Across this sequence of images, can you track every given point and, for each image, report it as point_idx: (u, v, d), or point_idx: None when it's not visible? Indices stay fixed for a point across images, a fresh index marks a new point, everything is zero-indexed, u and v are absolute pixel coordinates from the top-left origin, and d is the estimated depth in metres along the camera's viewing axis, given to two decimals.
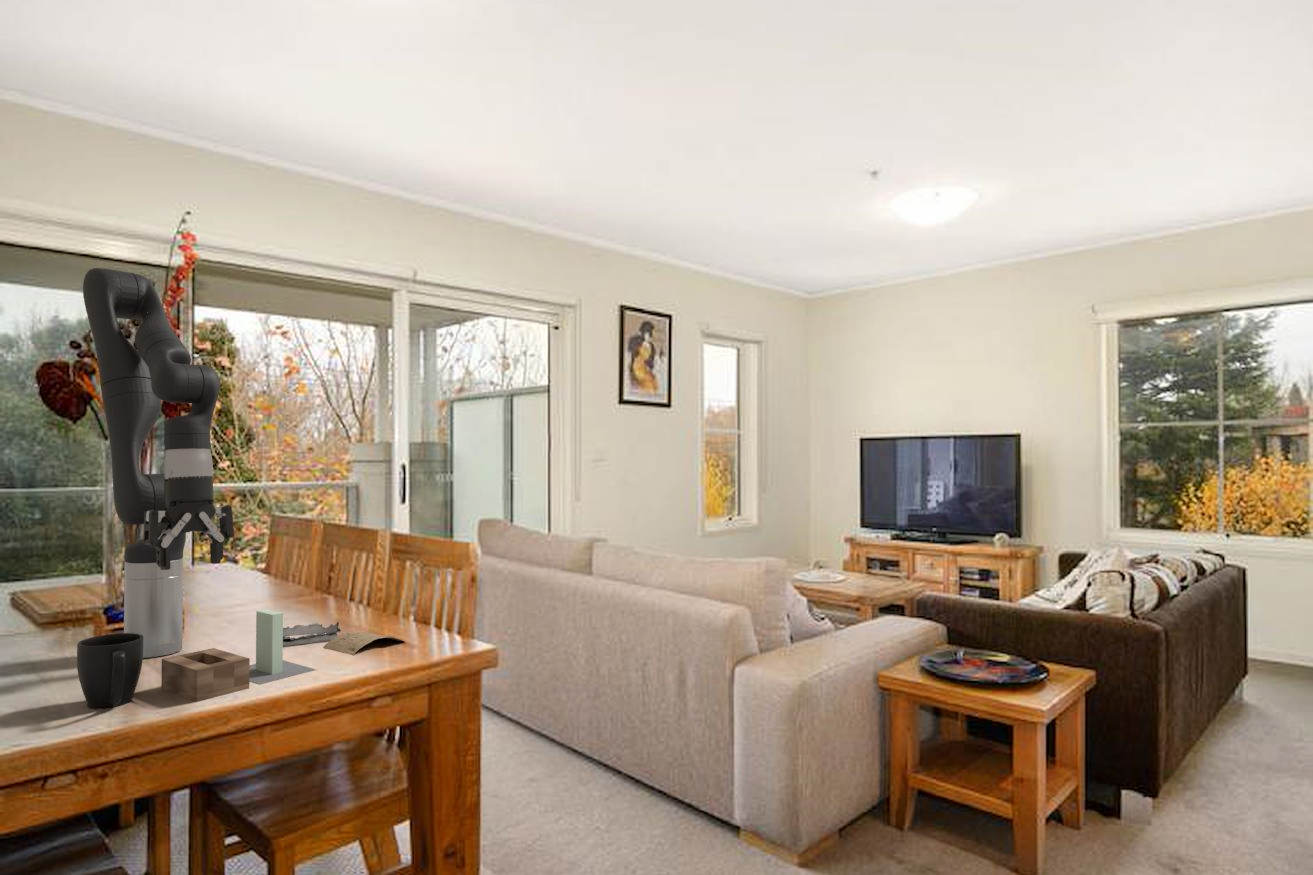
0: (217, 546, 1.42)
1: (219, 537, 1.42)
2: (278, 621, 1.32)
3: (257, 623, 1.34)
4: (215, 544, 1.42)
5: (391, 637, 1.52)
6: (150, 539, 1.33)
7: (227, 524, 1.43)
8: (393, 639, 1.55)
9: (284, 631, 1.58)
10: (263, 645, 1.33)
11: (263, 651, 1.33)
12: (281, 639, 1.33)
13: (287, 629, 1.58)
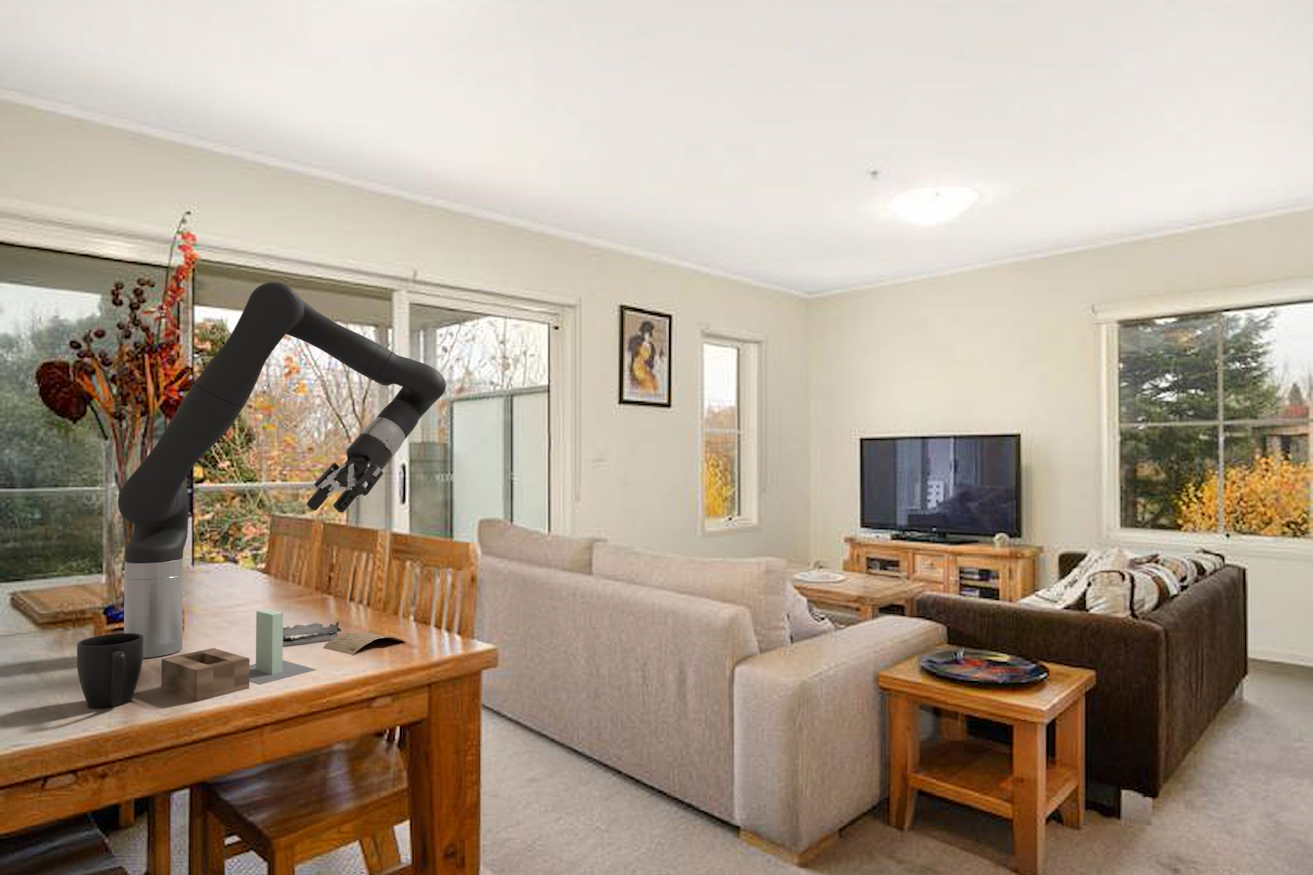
0: (325, 499, 1.49)
1: None
2: (278, 621, 1.32)
3: (257, 623, 1.34)
4: (326, 496, 1.49)
5: (391, 637, 1.52)
6: (368, 491, 1.44)
7: None
8: (393, 639, 1.55)
9: (284, 631, 1.58)
10: (263, 645, 1.33)
11: (263, 651, 1.33)
12: (281, 639, 1.33)
13: (287, 629, 1.58)
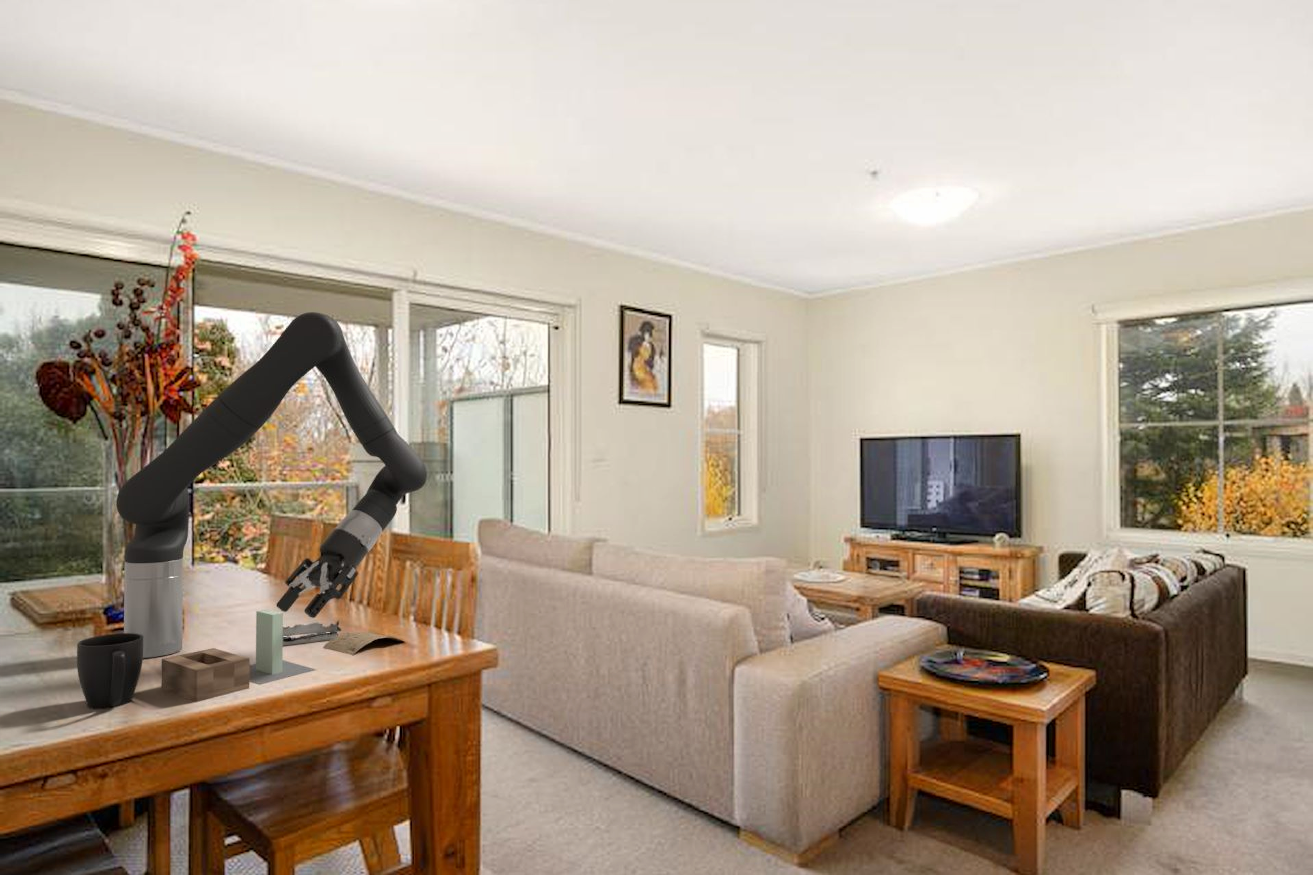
0: (296, 598, 1.42)
1: None
2: (278, 621, 1.32)
3: (257, 623, 1.34)
4: (297, 595, 1.42)
5: (391, 637, 1.52)
6: (342, 594, 1.37)
7: None
8: (393, 639, 1.55)
9: (284, 631, 1.58)
10: (263, 645, 1.33)
11: (263, 651, 1.33)
12: (281, 639, 1.33)
13: (287, 629, 1.58)
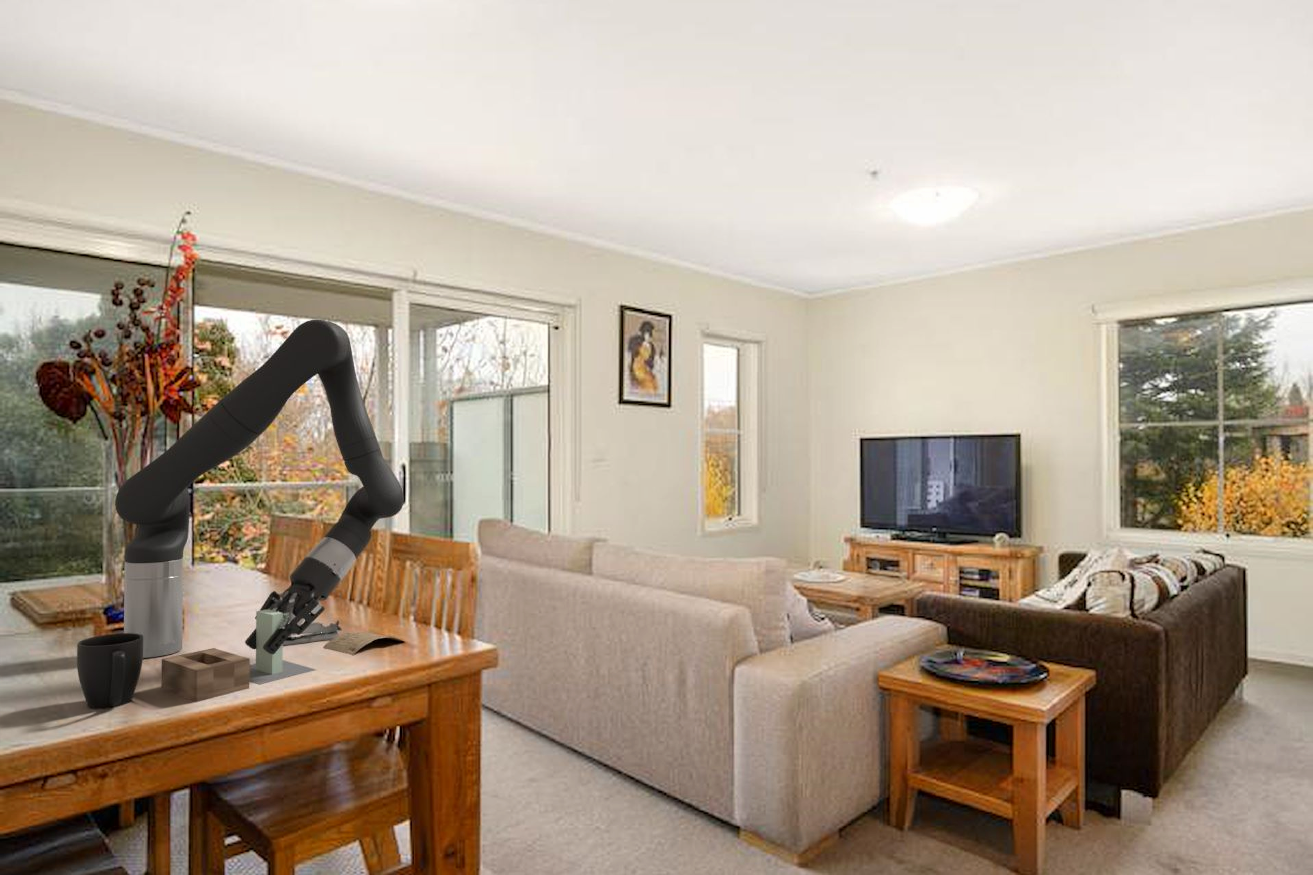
0: None
1: None
2: (278, 621, 1.32)
3: (257, 623, 1.34)
4: None
5: (391, 637, 1.52)
6: None
7: None
8: (393, 639, 1.55)
9: None
10: (263, 645, 1.33)
11: (262, 651, 1.33)
12: None
13: None
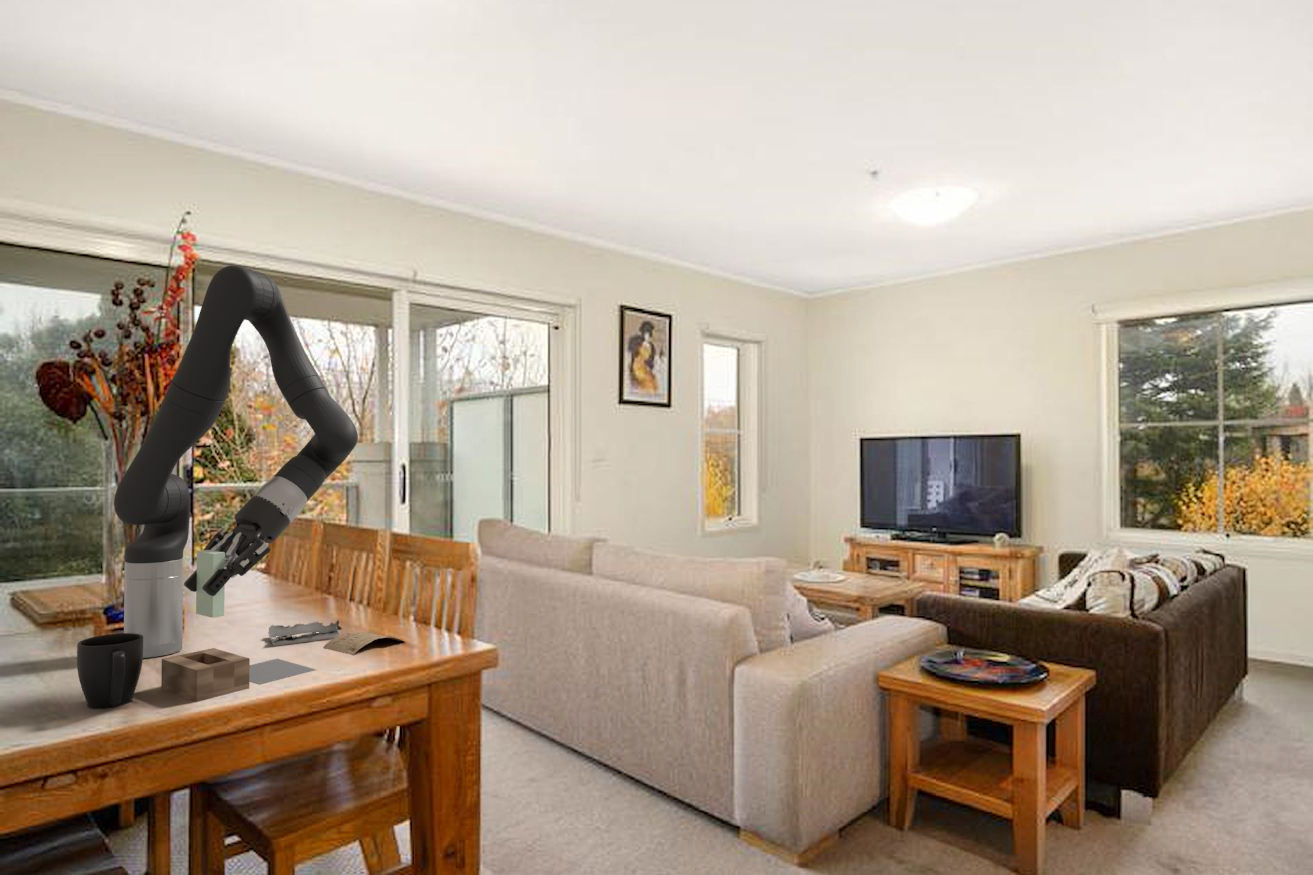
0: None
1: None
2: (219, 560, 1.23)
3: (197, 564, 1.25)
4: None
5: (391, 637, 1.52)
6: None
7: None
8: (393, 639, 1.55)
9: (285, 630, 1.59)
10: None
11: (203, 593, 1.24)
12: None
13: (288, 628, 1.59)
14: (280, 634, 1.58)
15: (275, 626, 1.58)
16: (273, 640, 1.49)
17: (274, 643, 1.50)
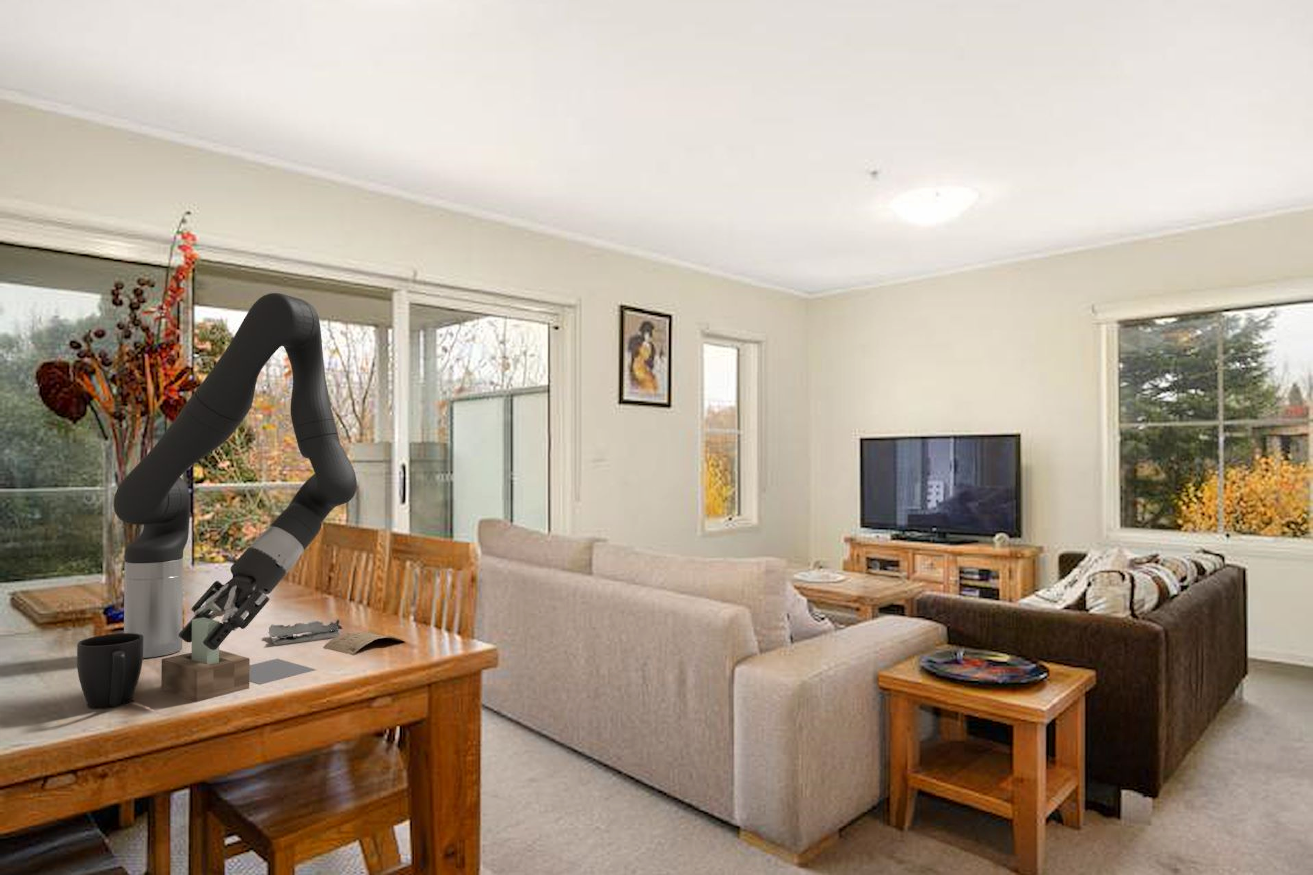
0: None
1: None
2: None
3: (192, 632, 1.24)
4: None
5: (391, 637, 1.52)
6: (248, 623, 1.23)
7: None
8: (393, 639, 1.55)
9: (285, 629, 1.59)
10: (198, 656, 1.23)
11: None
12: (217, 650, 1.23)
13: (288, 627, 1.59)
14: (281, 634, 1.59)
15: (275, 626, 1.58)
16: (274, 639, 1.50)
17: (275, 642, 1.50)
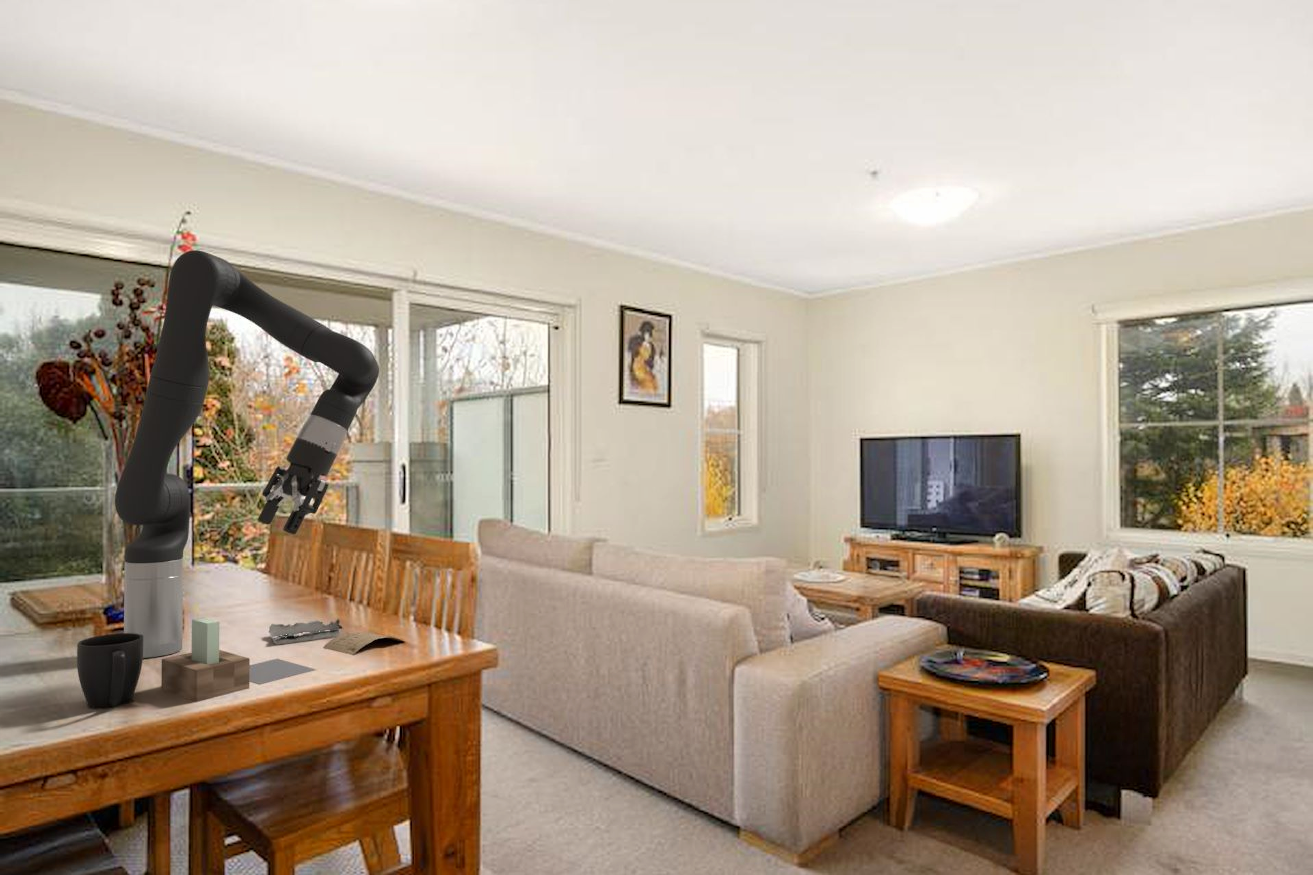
0: (277, 509, 1.43)
1: None
2: (214, 630, 1.23)
3: (192, 632, 1.24)
4: (277, 507, 1.42)
5: (391, 637, 1.52)
6: (317, 508, 1.37)
7: None
8: (393, 639, 1.55)
9: (285, 629, 1.60)
10: (198, 656, 1.23)
11: None
12: (217, 650, 1.23)
13: (288, 627, 1.60)
14: (281, 633, 1.59)
15: (275, 625, 1.59)
16: (275, 639, 1.50)
17: (276, 642, 1.51)
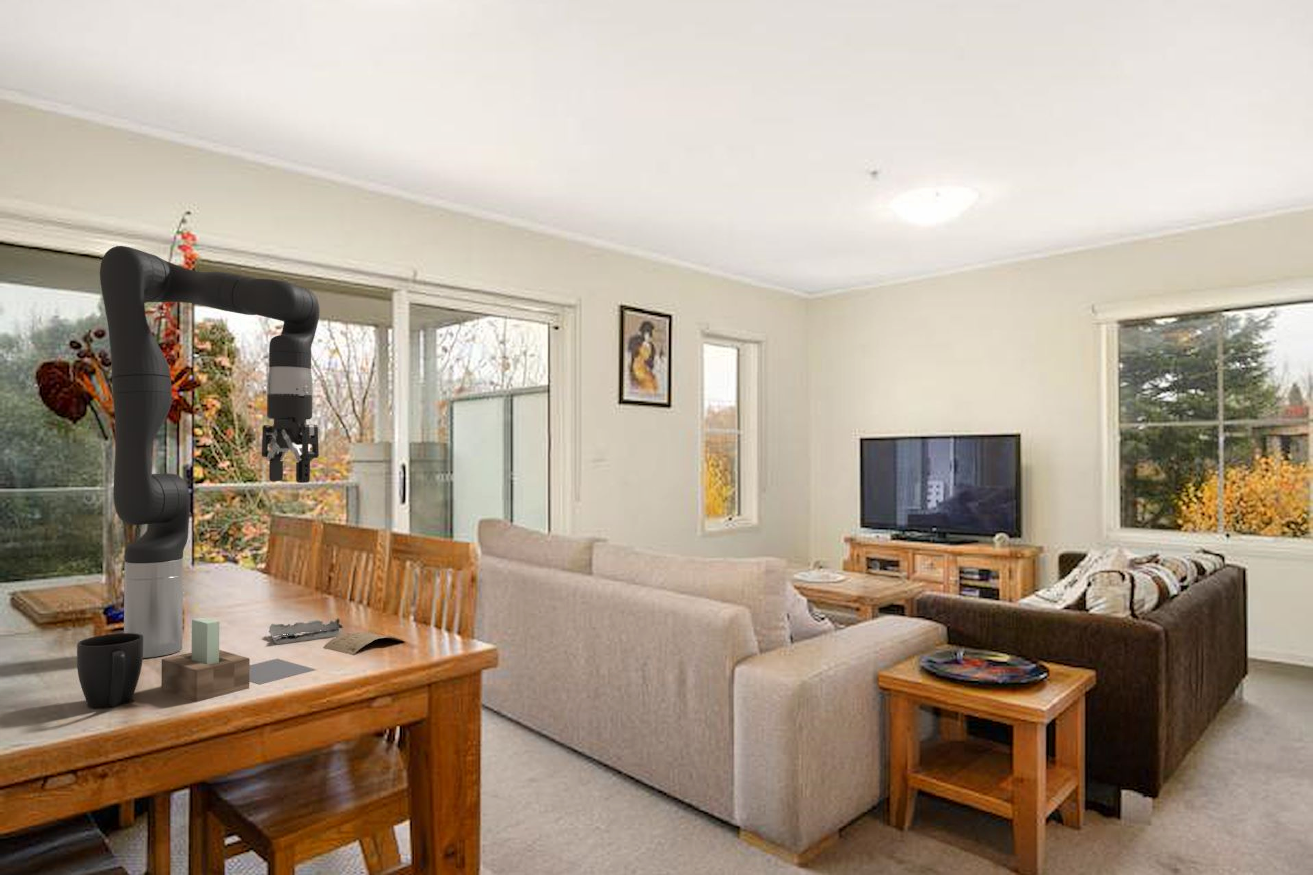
0: (282, 464, 1.46)
1: None
2: (214, 630, 1.23)
3: (192, 632, 1.24)
4: (281, 462, 1.46)
5: (391, 637, 1.52)
6: (317, 452, 1.40)
7: None
8: (393, 639, 1.55)
9: (285, 629, 1.60)
10: (198, 656, 1.23)
11: None
12: (217, 650, 1.23)
13: (288, 626, 1.60)
14: (281, 633, 1.59)
15: (275, 625, 1.59)
16: (276, 638, 1.51)
17: (276, 641, 1.51)
